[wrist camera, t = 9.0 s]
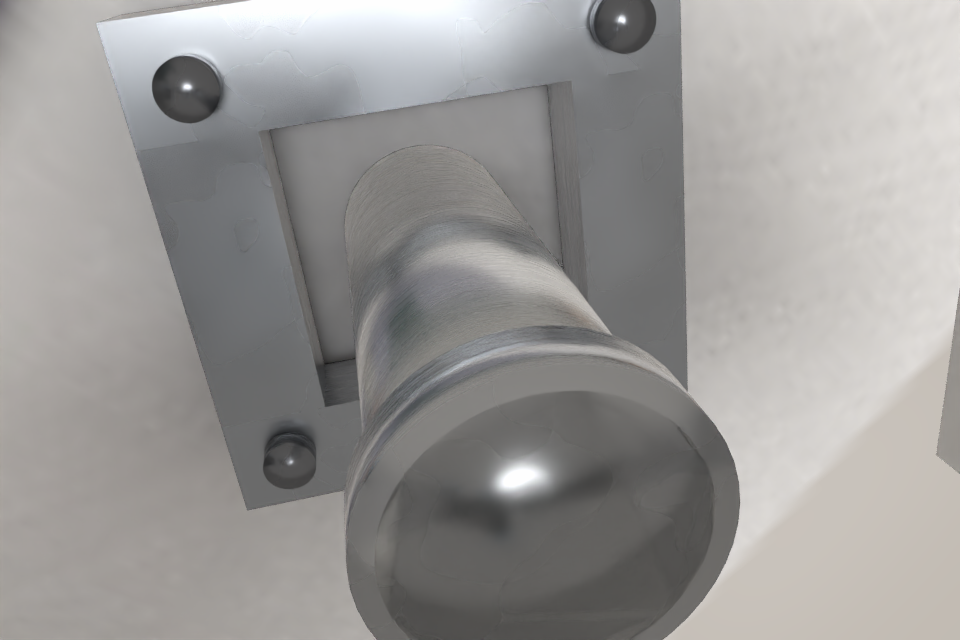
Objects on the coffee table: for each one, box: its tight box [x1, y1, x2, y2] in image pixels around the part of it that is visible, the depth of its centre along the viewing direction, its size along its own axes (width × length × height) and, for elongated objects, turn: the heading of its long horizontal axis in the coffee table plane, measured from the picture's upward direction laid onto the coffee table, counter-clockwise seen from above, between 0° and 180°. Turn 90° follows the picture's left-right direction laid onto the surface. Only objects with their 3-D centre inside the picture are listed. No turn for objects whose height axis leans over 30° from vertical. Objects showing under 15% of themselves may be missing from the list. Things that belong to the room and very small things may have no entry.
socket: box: [96, 0, 688, 510], centre depth 19 cm, size 11×11×3 cm
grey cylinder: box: [344, 145, 740, 640], centre depth 15 cm, size 5×5×12 cm
